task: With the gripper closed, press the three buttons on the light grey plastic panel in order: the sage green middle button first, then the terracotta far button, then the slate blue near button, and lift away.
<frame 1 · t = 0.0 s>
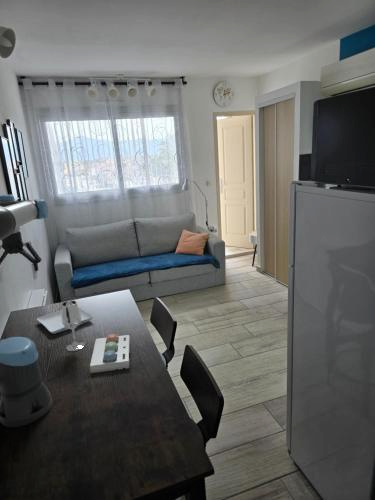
hand: (19, 279, 141), 28 cm above the table, tool pointing down, fingers open, 13 cm apart
sage button: (111, 347, 130), point 4 cm above the table, slide at 0.0 cm
button panel: (112, 355, 131), on the table
wineglass: (75, 347, 139), on the table
slate button: (109, 356, 123), point 4 cm above the table, slide at 0.0 cm
terracotta button: (112, 339, 136), point 4 cm above the table, slide at 0.0 cm
salad plate: (65, 323, 162), on the table
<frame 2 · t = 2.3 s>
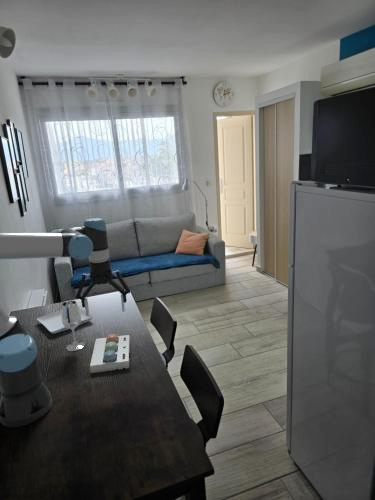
hand: (105, 312, 126), 19 cm above the table, tool pointing down, fingers open, 13 cm apart
nothing on the table moved.
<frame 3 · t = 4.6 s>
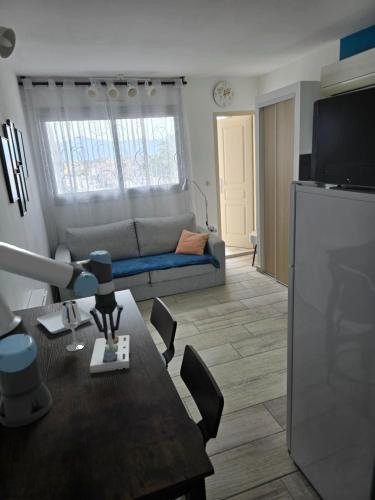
hand: (111, 346, 130), 4 cm above the table, tool pointing down, fingers closed
sage button: (111, 350, 130), point 3 cm above the table, slide at 1.0 cm, touching gripper
everything else where it was.
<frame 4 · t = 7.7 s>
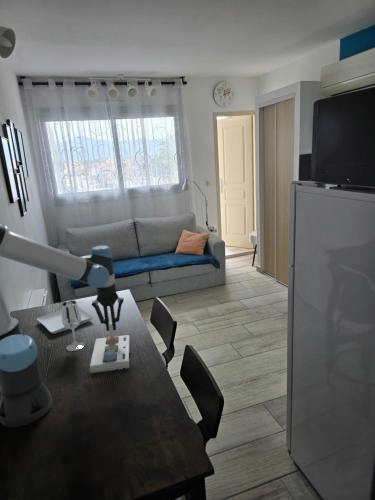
hand: (112, 337, 136), 5 cm above the table, tool pointing down, fingers closed
sage button: (111, 350, 130), point 3 cm above the table, slide at 1.1 cm
terracotta button: (112, 340, 136), point 3 cm above the table, slide at 0.6 cm, touching gripper
everything else where it was.
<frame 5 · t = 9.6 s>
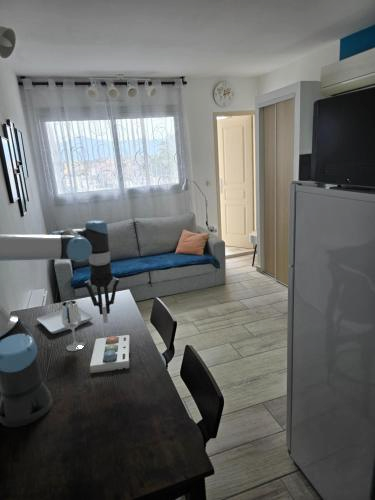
hand: (105, 321, 125), 16 cm above the table, tool pointing down, fingers closed
terracotta button: (112, 341, 136), point 3 cm above the table, slide at 1.1 cm
everything else where it was.
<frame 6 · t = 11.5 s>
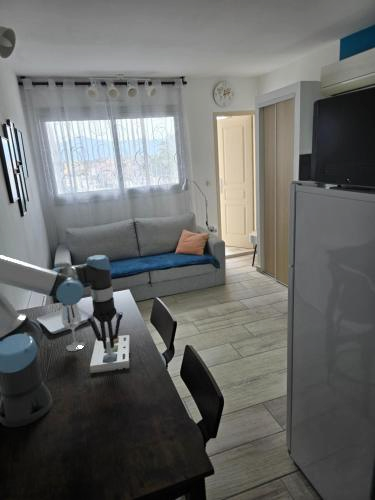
hand: (110, 355, 123), 4 cm above the table, tool pointing down, fingers closed
slate button: (110, 359, 124), point 3 cm above the table, slide at 1.0 cm, touching gripper
everything else where it was.
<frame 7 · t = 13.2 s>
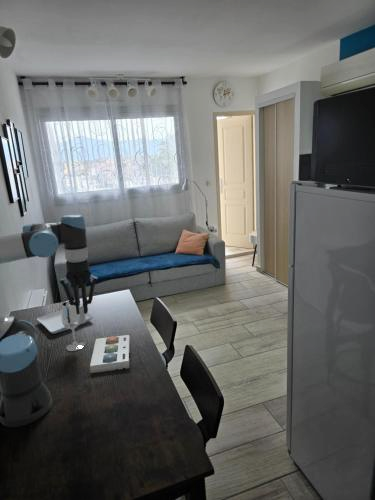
hand: (83, 321, 119), 19 cm above the table, tool pointing down, fingers closed
slate button: (110, 359, 124), point 3 cm above the table, slide at 1.1 cm
everything else where it was.
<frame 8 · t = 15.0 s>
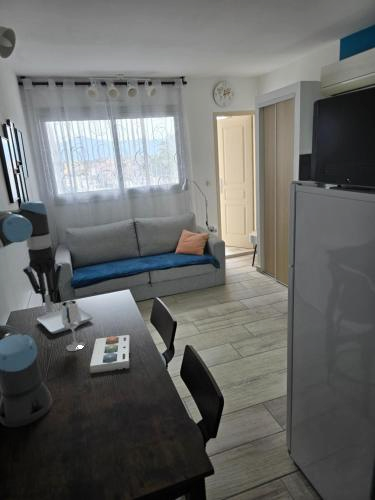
hand: (50, 310, 117), 24 cm above the table, tool pointing down, fingers closed
nothing on the table moved.
at the end: sage button slide at 1.1 cm; terracotta button slide at 1.1 cm; slate button slide at 1.1 cm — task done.
